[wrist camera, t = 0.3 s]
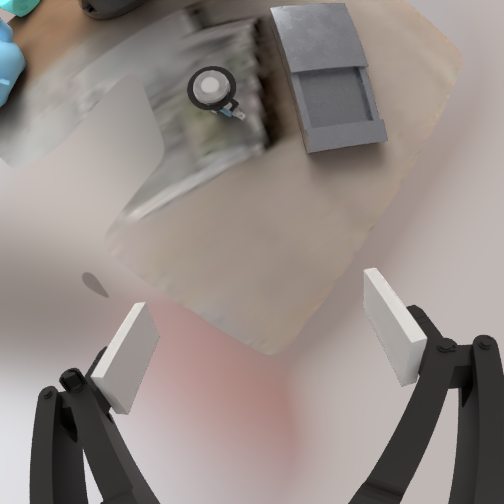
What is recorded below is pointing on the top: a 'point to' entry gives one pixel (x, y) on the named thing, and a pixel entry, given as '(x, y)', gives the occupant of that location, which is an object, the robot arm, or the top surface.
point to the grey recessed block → (327, 76)
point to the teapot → (9, 61)
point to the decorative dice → (19, 6)
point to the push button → (214, 91)
